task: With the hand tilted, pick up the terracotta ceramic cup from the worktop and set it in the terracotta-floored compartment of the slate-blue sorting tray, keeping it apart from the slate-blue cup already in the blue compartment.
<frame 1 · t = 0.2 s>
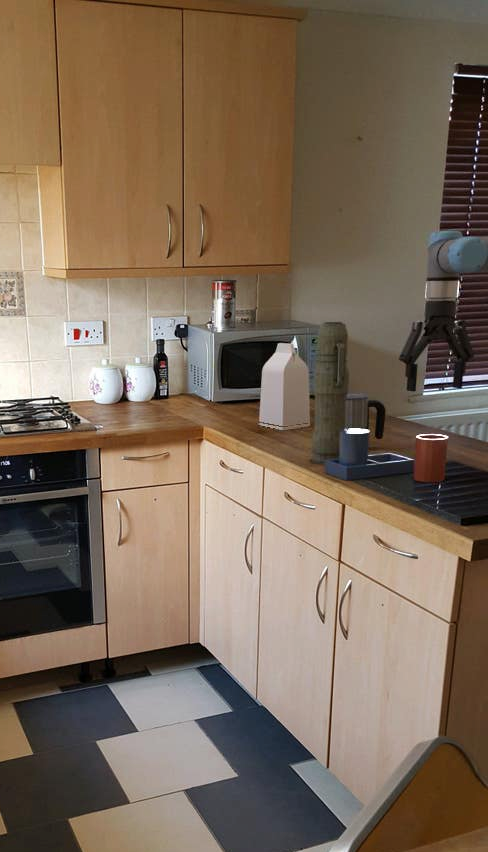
hand: (434, 389, 217), 19 cm above the countertop, tool pointing down, fingers open, 13 cm apart
sorter: (368, 472, 215), on the countertop
terracotta cup: (429, 479, 206), on the countertop
blue cup: (352, 471, 213), point 1 cm above the countertop, touching sorter
thermos: (328, 461, 230), on the countertop
milk frother: (351, 447, 248), on the countertop
milk: (284, 426, 284), on the countertop
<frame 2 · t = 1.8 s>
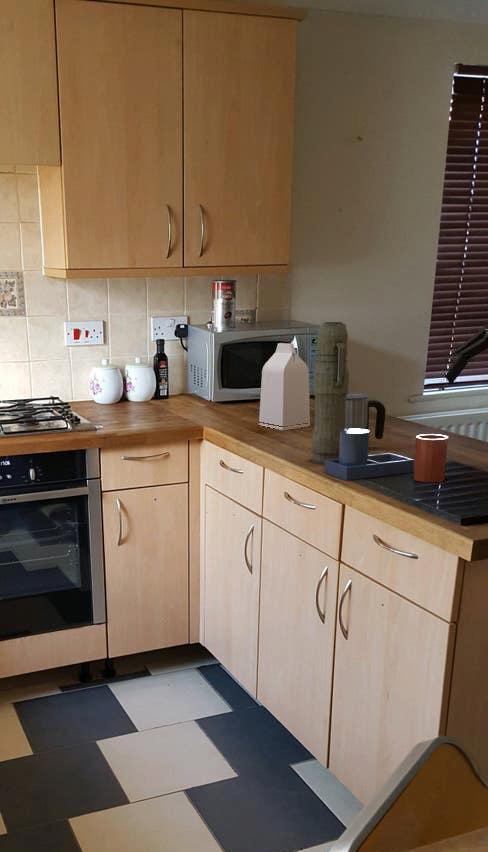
hand: (469, 382, 204), 22 cm above the countertop, tool tilted 45°, fingers open, 13 cm apart
nothing on the countertop moved.
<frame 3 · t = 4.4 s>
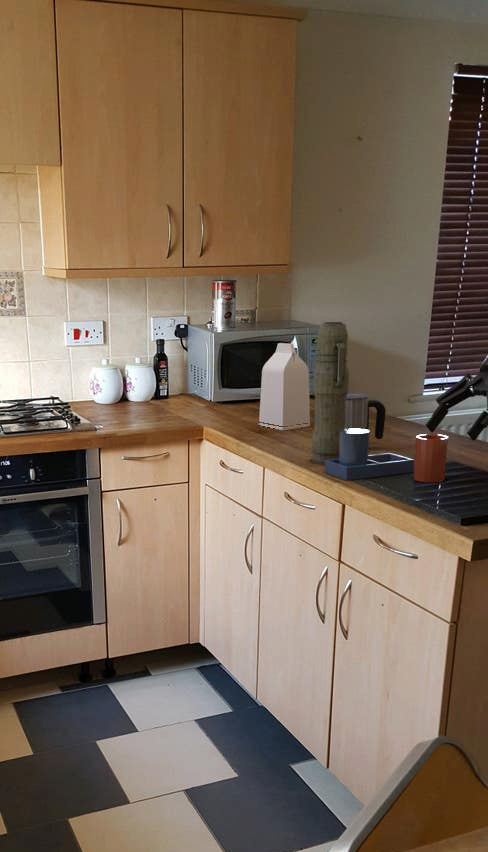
hand: (449, 432, 205), 10 cm above the countertop, tool tilted 45°, fingers open, 13 cm apart
nothing on the countertop moved.
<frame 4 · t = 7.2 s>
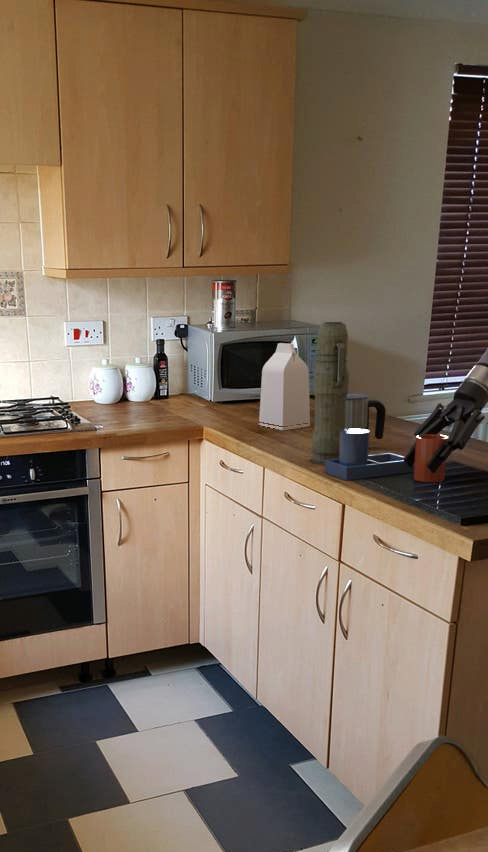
hand: (418, 466, 204), 4 cm above the countertop, tool tilted 45°, fingers closed on terracotta cup, 7 cm apart
terracotta cup: (429, 479, 206), on the countertop, touching gripper
everything else where it was.
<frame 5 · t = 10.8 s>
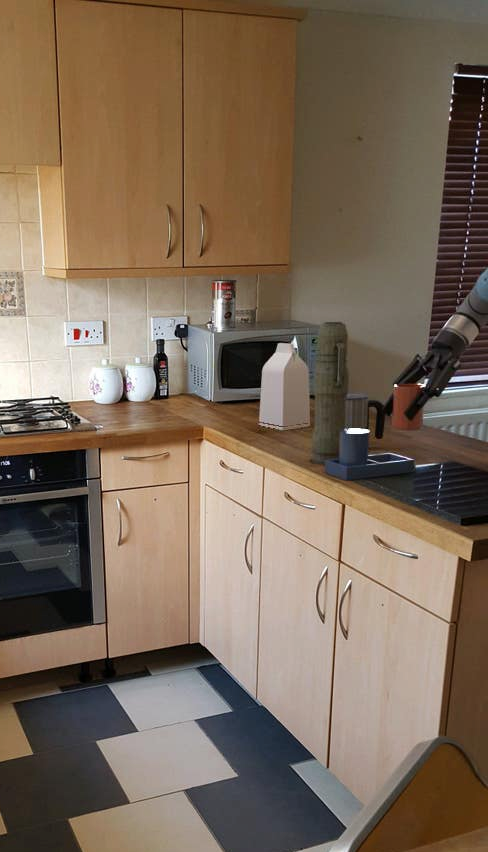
hand: (396, 414, 206), 15 cm above the countertop, tool tilted 45°, fingers closed on terracotta cup, 7 cm apart
terracotta cup: (407, 428, 209), point 11 cm above the countertop, touching gripper
everything else where it was.
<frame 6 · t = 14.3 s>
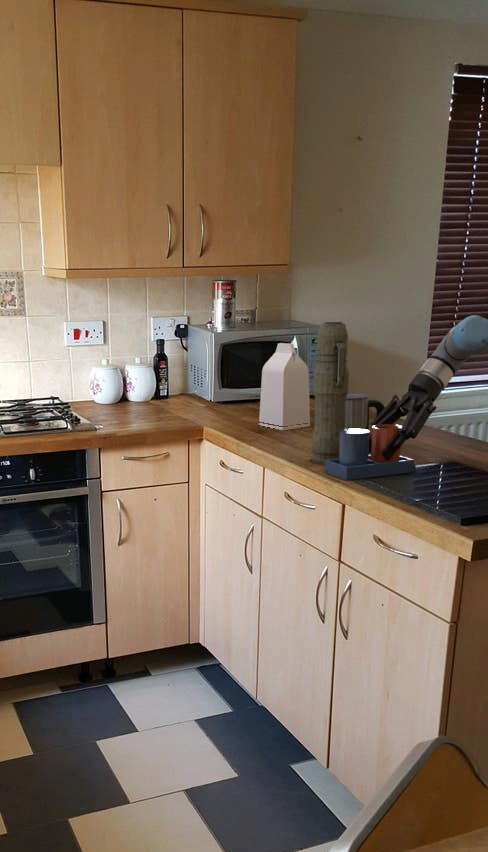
hand: (374, 454, 214), 4 cm above the countertop, tool tilted 45°, fingers closed on terracotta cup, 7 cm apart
terracotta cup: (384, 467, 217), point 1 cm above the countertop, touching gripper
everything else where it was.
when the fingers open (4 cm above the countertop, at t = 14.7 s): terracotta cup stays where it is, resting on sorter.
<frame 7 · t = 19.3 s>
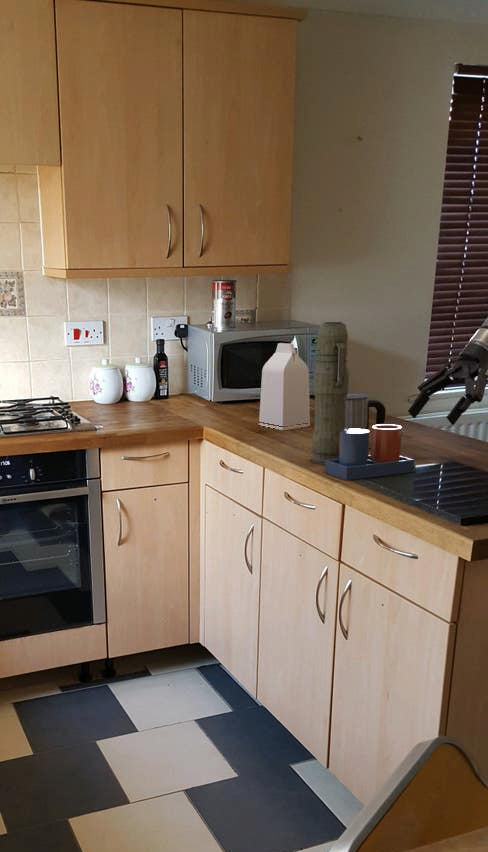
hand: (430, 417, 217), 12 cm above the countertop, tool tilted 45°, fingers open, 13 cm apart
terracotta cup: (384, 467, 217), point 1 cm above the countertop, touching sorter
everything else where it was.
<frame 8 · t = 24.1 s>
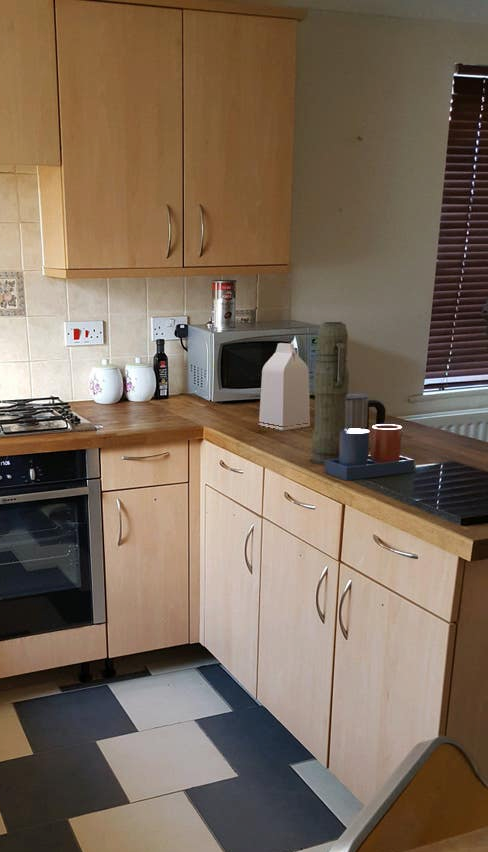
nothing on the countertop moved.
at the end: terracotta cup 0.1 cm from the target spot in the sorter, point 0.8 cm above the sorter's base; terracotta cup tilted 0°; blue cup moved 0.0 cm from its start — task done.
